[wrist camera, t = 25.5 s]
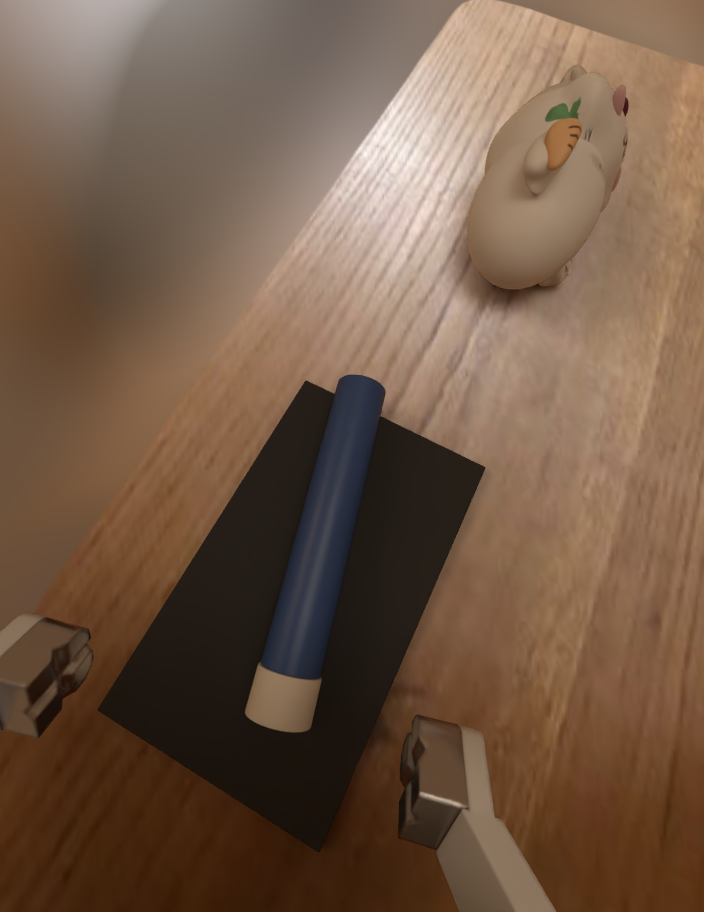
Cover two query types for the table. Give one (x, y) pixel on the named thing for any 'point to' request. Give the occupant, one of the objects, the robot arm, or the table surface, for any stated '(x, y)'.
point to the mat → (252, 610)
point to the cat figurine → (548, 181)
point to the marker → (317, 562)
